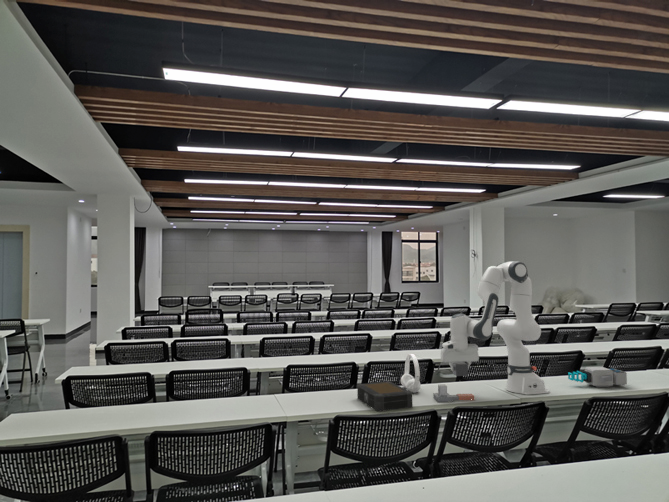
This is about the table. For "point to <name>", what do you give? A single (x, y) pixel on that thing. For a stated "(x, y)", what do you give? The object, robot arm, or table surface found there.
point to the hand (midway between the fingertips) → (460, 370)
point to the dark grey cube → (460, 368)
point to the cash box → (384, 396)
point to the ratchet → (445, 397)
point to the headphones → (408, 379)
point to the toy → (600, 376)
